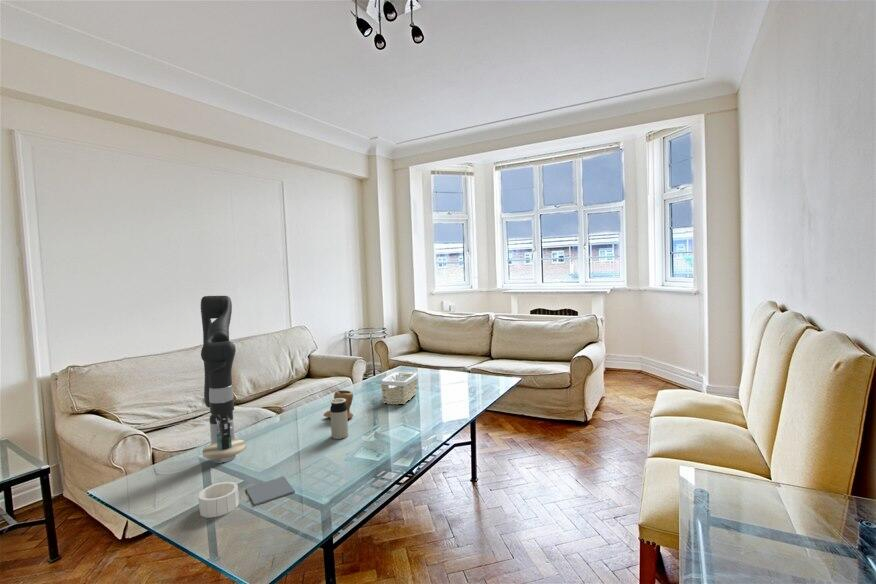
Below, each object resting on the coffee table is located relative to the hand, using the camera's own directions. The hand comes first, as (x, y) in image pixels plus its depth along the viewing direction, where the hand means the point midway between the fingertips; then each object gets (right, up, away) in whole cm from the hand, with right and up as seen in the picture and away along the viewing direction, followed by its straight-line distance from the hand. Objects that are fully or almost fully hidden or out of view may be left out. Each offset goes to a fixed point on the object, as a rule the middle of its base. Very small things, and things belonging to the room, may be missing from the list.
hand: (224, 446), depth 148 cm
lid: (0, -1, 0) cm, 1 cm away
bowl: (-1, -21, -1) cm, 21 cm away
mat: (+12, -20, +9) cm, 25 cm away
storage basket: (+52, -13, +115) cm, 126 cm away
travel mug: (+27, -17, +59) cm, 67 cm away
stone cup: (+21, -16, +86) cm, 90 cm away
